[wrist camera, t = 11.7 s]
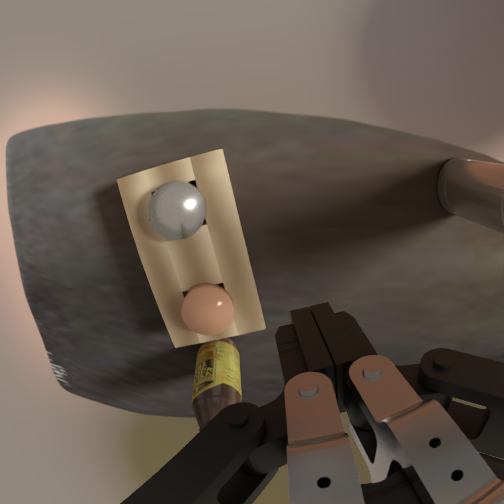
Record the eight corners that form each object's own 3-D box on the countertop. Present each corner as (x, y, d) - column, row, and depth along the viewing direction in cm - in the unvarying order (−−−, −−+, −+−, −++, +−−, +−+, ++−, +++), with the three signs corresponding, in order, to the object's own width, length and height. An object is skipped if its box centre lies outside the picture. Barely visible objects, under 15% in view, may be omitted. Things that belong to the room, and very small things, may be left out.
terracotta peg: (226, 259, 40) (226, 284, 33) (236, 299, 42) (239, 329, 35) (183, 270, 40) (174, 296, 33) (195, 308, 42) (190, 339, 35)
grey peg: (203, 171, 37) (197, 175, 29) (214, 216, 39) (211, 232, 31) (157, 183, 37) (141, 191, 29) (170, 228, 39) (157, 245, 31)
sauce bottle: (208, 327, 44) (201, 433, 25) (245, 342, 45) (258, 448, 26) (191, 357, 45) (179, 462, 26) (227, 371, 46) (231, 474, 28)
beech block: (222, 149, 36) (222, 148, 30) (260, 306, 43) (265, 328, 37) (132, 175, 36) (116, 179, 30) (180, 324, 43) (175, 347, 37)
